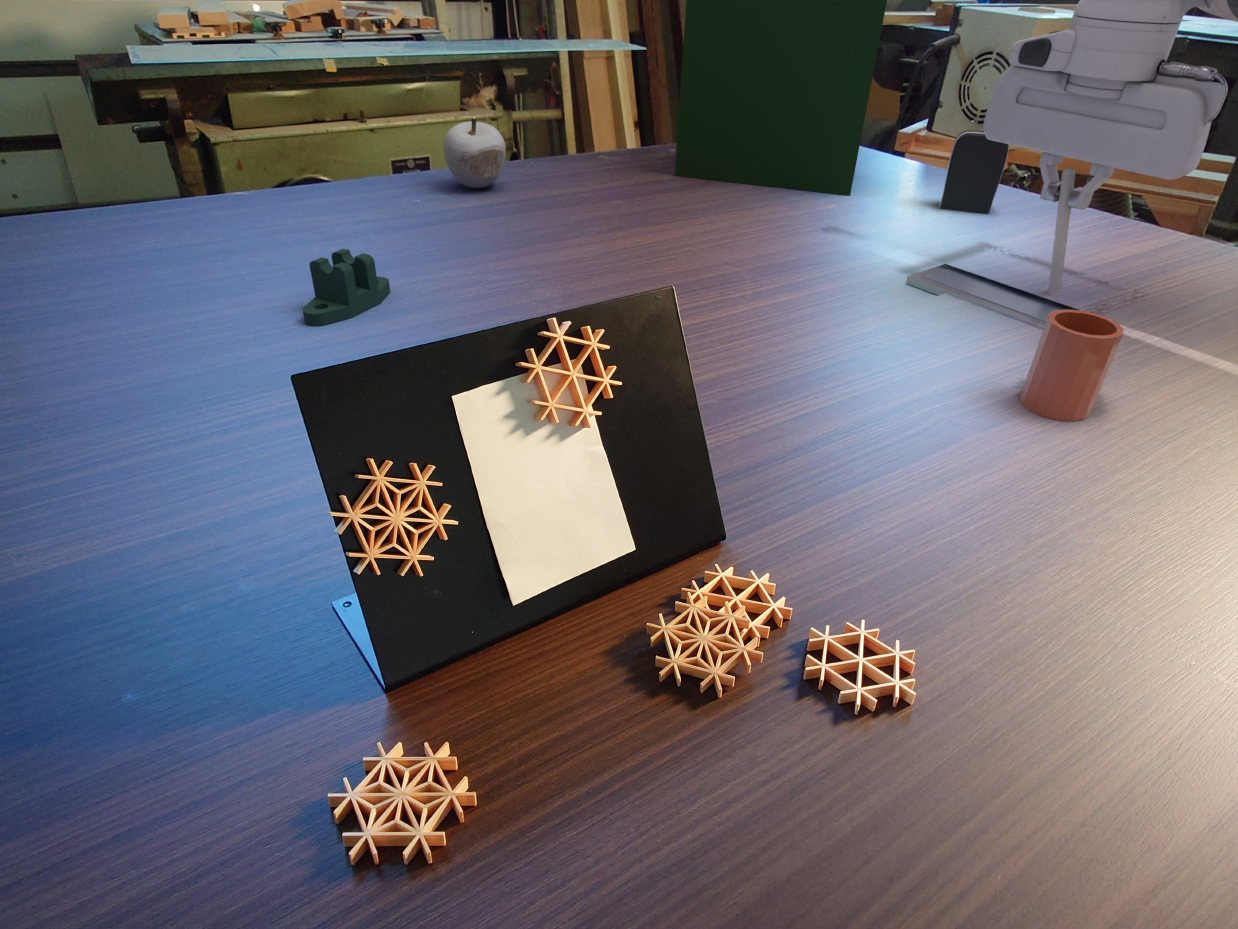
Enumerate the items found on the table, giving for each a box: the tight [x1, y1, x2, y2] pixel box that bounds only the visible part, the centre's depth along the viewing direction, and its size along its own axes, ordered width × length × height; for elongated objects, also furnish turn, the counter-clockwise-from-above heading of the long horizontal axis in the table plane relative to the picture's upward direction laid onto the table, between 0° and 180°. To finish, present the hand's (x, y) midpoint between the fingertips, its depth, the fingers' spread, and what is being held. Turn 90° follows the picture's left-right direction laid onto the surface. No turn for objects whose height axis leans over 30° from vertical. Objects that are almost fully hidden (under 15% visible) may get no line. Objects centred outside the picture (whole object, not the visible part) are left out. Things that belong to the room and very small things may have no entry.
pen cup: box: [1019, 309, 1125, 423], centre depth 66 cm, size 5×5×8 cm
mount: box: [302, 248, 391, 327], centre depth 80 cm, size 11×4×5 cm, turn 153°
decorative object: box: [443, 116, 507, 189], centre depth 116 cm, size 9×9×10 cm
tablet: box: [905, 263, 1079, 331], centre depth 90 cm, size 18×16×1 cm
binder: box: [674, 0, 888, 196], centre depth 121 cm, size 27×15×32 cm, turn 74°
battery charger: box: [938, 129, 1010, 215], centre depth 110 cm, size 7×4×11 cm, turn 73°
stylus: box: [1047, 167, 1076, 297], centre depth 84 cm, size 1×1×13 cm
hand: (1062, 203), depth 83 cm, fingers closed on stylus, 1 cm apart
